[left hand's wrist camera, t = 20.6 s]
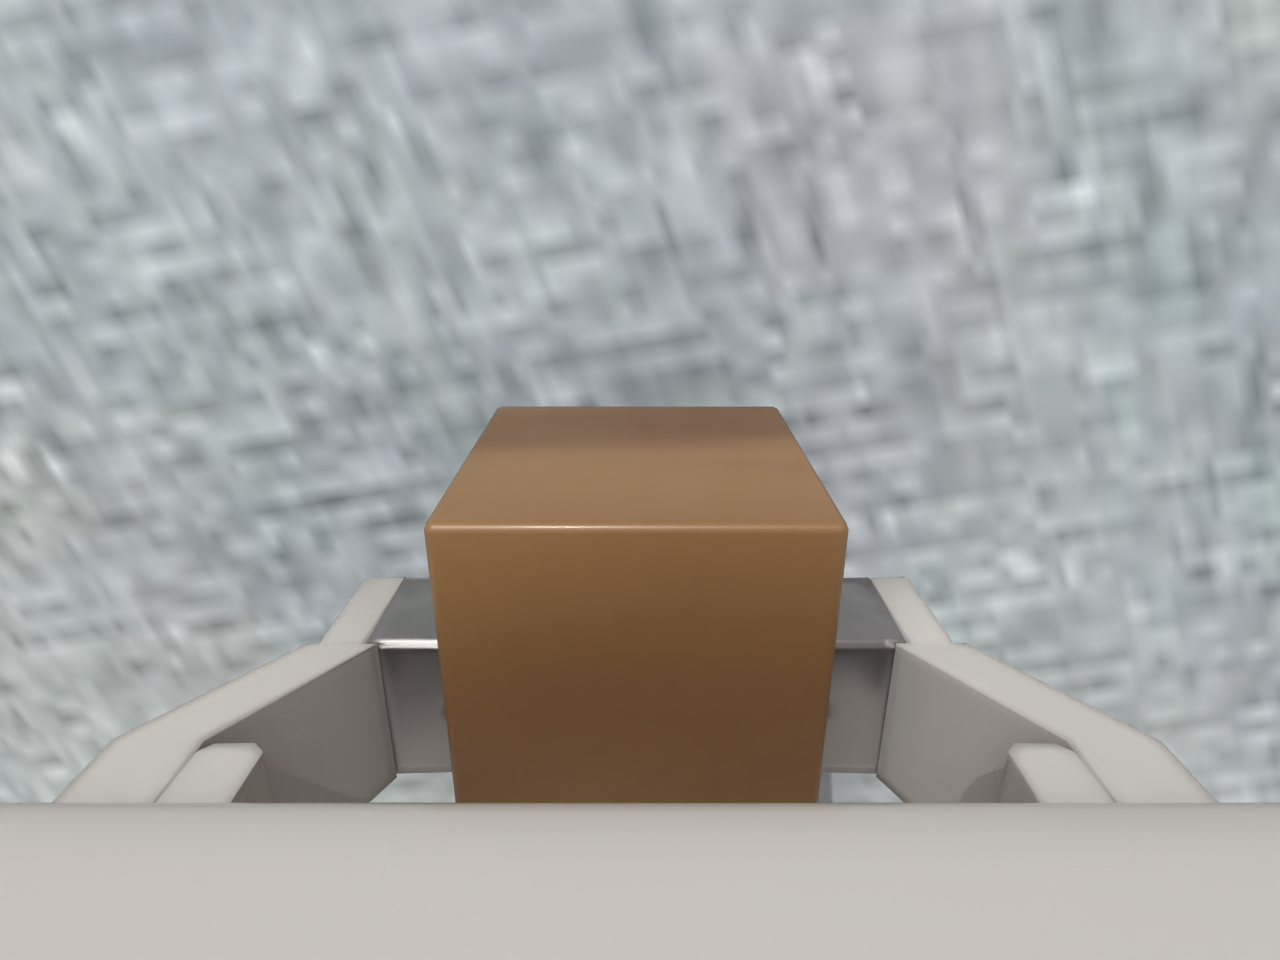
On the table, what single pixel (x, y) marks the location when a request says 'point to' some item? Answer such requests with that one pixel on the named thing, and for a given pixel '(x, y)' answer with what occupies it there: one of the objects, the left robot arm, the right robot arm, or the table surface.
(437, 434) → the table surface
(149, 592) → the table surface
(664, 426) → the block
